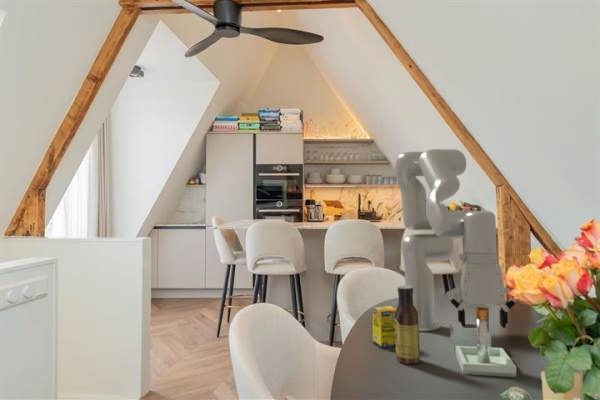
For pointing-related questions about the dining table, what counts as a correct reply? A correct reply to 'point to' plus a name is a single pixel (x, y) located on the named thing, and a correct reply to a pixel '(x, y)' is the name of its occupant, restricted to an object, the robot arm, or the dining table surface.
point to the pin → (483, 334)
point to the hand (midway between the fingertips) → (482, 325)
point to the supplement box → (384, 326)
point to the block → (464, 334)
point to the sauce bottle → (407, 327)
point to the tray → (497, 366)
